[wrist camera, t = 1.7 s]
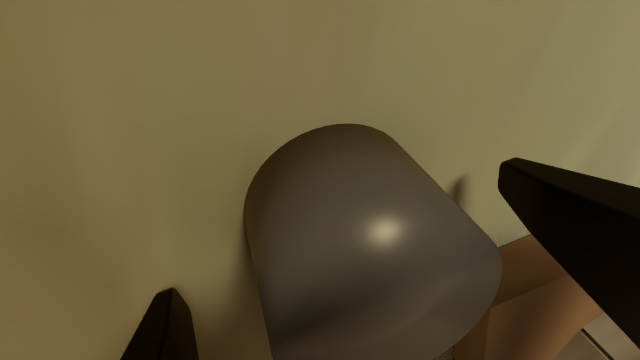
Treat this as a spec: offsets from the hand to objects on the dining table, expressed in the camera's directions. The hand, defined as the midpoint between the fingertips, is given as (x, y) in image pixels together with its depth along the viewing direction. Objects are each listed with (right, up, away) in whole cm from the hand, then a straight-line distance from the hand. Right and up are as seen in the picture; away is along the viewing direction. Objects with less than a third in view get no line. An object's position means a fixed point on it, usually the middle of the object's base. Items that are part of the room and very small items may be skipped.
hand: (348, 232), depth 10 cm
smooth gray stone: (0, +1, +1) cm, 1 cm away
